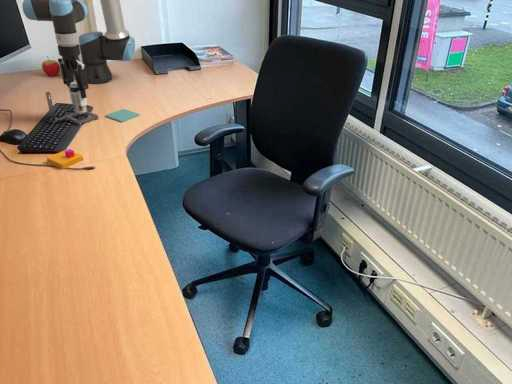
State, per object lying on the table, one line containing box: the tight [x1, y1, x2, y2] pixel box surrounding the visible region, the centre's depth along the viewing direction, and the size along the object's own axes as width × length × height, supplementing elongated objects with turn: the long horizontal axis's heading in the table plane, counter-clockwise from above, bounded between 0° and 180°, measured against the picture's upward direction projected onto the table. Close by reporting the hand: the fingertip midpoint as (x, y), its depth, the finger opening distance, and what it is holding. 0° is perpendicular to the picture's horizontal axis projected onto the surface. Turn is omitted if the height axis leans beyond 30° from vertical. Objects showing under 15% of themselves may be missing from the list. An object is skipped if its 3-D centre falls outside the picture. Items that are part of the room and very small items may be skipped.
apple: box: [41, 55, 61, 77], centre depth 218 cm, size 8×8×10 cm
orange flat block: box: [46, 148, 84, 170], centre depth 140 cm, size 8×8×4 cm
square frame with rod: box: [45, 91, 99, 126], centre depth 168 cm, size 14×14×12 cm
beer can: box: [70, 81, 88, 115], centre depth 167 cm, size 5×5×12 cm
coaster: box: [104, 108, 141, 123], centre depth 177 cm, size 10×10×1 cm
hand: (79, 103), depth 169 cm, fingers closed on beer can, 5 cm apart
